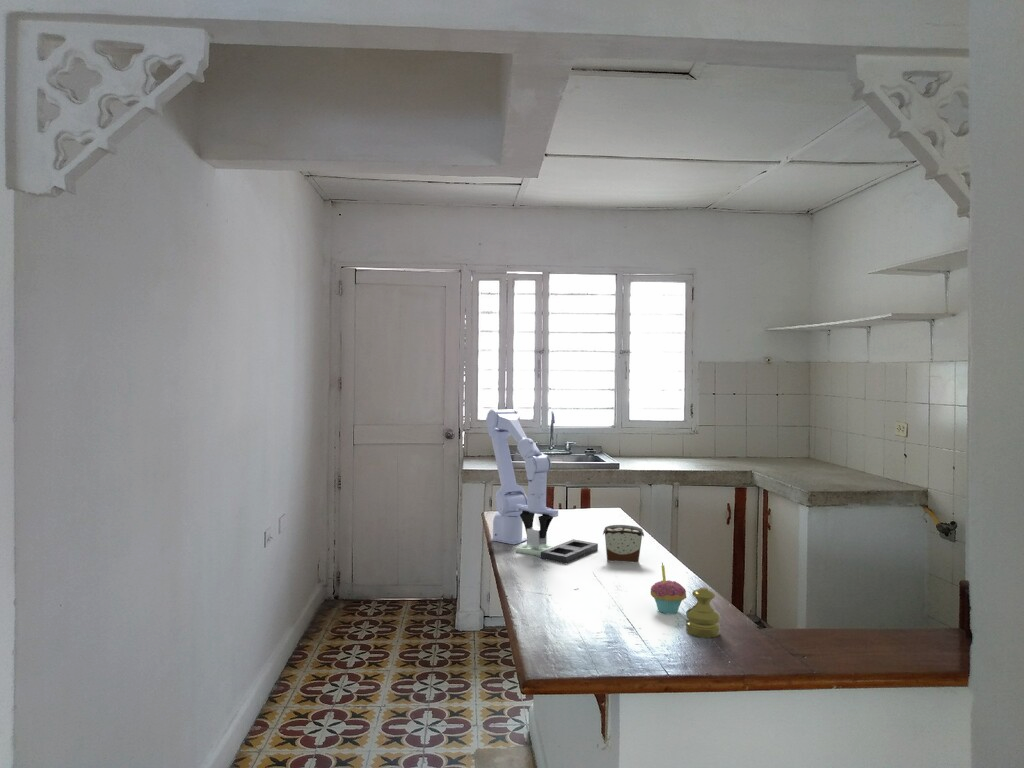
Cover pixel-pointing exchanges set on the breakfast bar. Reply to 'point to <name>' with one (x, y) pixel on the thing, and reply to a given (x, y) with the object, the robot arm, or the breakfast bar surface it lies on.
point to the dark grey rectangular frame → (569, 551)
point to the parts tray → (532, 550)
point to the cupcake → (668, 594)
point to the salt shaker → (703, 615)
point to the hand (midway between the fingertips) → (536, 536)
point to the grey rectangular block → (535, 538)
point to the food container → (623, 543)
